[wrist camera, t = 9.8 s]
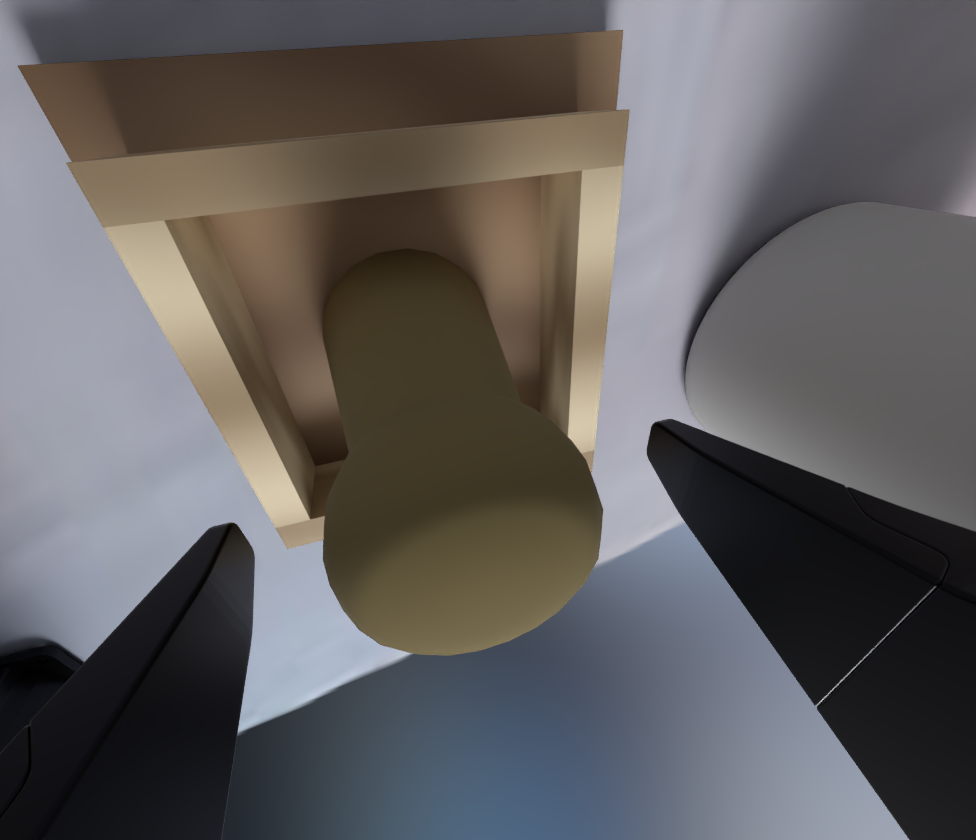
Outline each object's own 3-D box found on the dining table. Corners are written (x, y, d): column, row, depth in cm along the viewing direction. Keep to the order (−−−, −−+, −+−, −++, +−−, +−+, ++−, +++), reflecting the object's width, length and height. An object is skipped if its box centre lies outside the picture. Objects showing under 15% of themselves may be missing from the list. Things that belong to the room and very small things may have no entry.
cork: (287, 282, 13) (175, 576, 5) (465, 223, 14) (665, 393, 5) (365, 424, 17) (383, 736, 8) (504, 374, 17) (657, 622, 9)
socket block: (577, 441, 22) (615, 493, 19) (281, 511, 20) (269, 586, 17) (606, 35, 13) (690, 7, 10) (42, 69, 10) (-93, 47, 7)
